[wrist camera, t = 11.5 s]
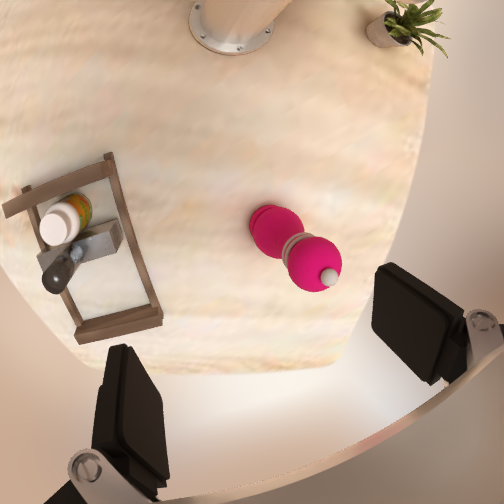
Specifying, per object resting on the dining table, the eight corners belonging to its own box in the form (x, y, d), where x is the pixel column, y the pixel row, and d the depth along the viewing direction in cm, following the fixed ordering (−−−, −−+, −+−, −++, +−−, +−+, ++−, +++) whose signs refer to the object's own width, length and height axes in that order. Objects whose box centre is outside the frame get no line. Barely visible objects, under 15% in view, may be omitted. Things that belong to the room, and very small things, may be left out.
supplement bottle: (96, 223, 37) (77, 246, 29) (66, 232, 36) (42, 256, 27) (87, 188, 35) (64, 202, 26) (57, 198, 34) (29, 214, 25)
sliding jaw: (51, 241, 36) (11, 282, 23) (117, 218, 38) (93, 254, 25) (58, 258, 37) (22, 304, 24) (123, 238, 39) (103, 280, 26)
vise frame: (25, 187, 32) (-1, 197, 24) (112, 152, 34) (98, 153, 27) (85, 333, 43) (75, 362, 35) (163, 313, 45) (163, 343, 38)
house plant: (348, -13, 31) (404, -44, 17) (403, 21, 36) (462, 6, 21) (339, 41, 36) (404, 14, 21) (397, 74, 40) (464, 67, 26)
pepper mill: (295, 234, 46) (367, 292, 29) (255, 253, 46) (310, 324, 28) (281, 194, 43) (357, 233, 25) (239, 213, 43) (290, 267, 25)
